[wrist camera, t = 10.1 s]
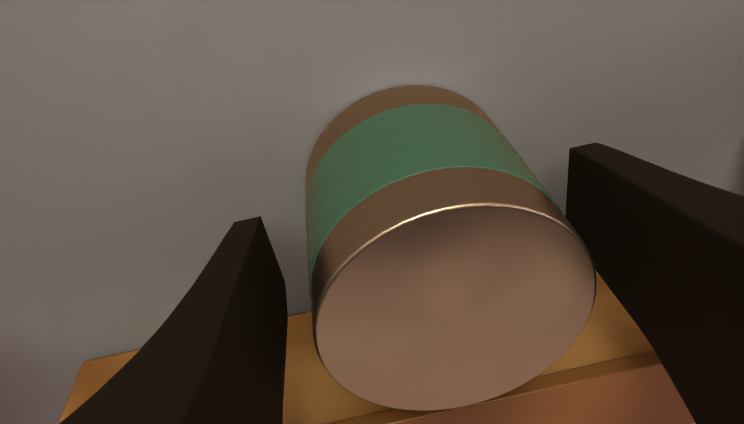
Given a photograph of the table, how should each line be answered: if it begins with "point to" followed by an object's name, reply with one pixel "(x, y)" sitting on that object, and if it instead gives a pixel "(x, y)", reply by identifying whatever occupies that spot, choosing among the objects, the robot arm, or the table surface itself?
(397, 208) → the tin can
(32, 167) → the table surface
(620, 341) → the wooden block
